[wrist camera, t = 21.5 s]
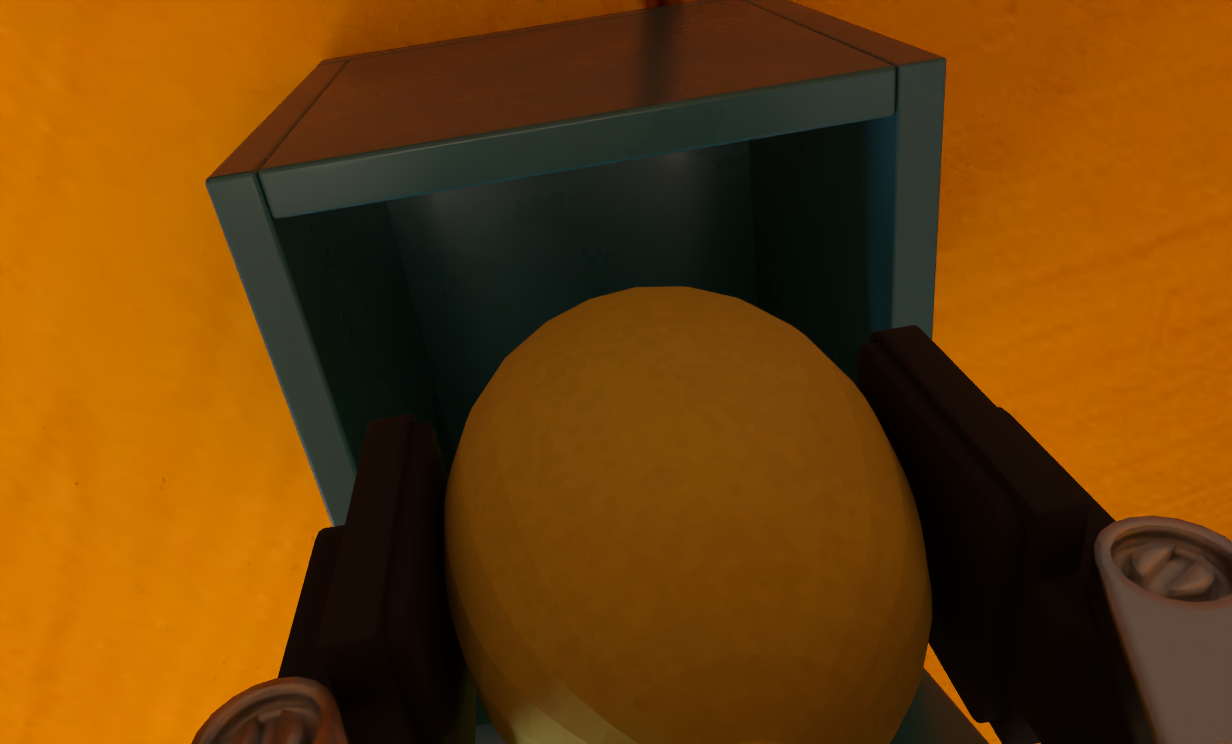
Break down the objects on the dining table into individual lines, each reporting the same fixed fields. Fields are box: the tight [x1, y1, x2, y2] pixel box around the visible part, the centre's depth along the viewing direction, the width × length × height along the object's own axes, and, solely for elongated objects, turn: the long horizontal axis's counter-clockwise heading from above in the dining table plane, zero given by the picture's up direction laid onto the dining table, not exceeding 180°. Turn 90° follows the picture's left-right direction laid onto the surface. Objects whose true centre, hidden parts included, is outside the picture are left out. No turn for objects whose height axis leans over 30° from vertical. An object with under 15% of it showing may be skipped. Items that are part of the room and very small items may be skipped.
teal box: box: [206, 0, 946, 744], centre depth 22 cm, size 14×12×11 cm
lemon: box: [444, 286, 932, 744], centre depth 11 cm, size 6×6×8 cm
